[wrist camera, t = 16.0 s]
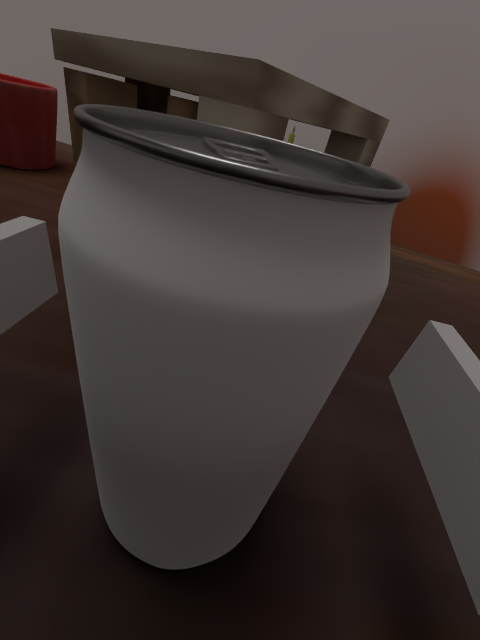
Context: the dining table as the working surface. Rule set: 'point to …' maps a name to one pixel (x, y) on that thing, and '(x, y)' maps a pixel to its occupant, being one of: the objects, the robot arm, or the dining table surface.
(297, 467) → the dining table surface
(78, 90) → the gate leg
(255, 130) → the stool
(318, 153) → the can
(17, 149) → the flower pot
